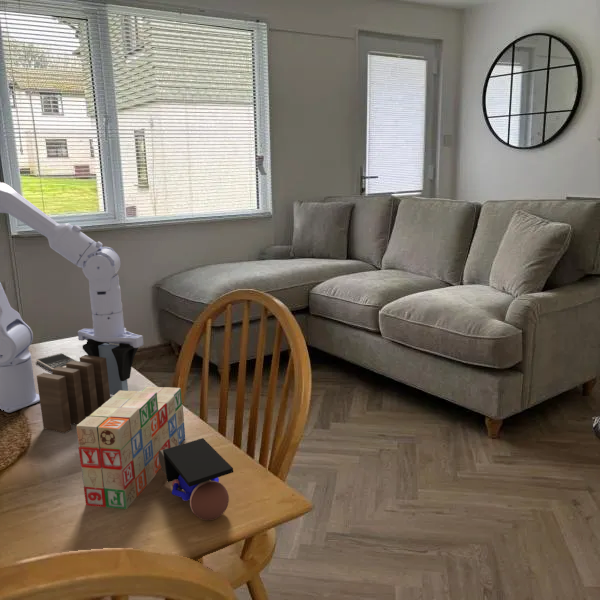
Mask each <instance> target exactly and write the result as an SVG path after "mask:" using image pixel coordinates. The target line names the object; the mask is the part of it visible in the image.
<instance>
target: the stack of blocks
mask: <svg viewBox="0 0 600 600" xmlns="http://www.w3.org/2000/svg"><path fill="white" fill-rule="evenodd" d="M182 399H183V398H182V388H181V387H169V386H168V387H167V386H164V387H163V386H161V387H160V386H146V387H145V388H144V389H143V390H141V391H140V390H139V391H138V390H137V391H135V390H128V391H122V390H120V391H119V392H117V393H116V394H115V395H112V396H110V399H109V400H108V401H107V402H105V403H104V404H103V405H102V406H101V407H99V408H98V409H97V410H96V411H94V412H93V413H92V414H91V415H90V416H88V417H87V416H85V419H84V420H83V421H82V422H80V423H79V424H78V425H76V432H77V441H78V455H79V462H80V467H81V474H82V481H83V493H84V501H85V505H86V506H91V507H100V508H101V507H103V508H114V509H120V510H121V509H122V510H123V509H124V510H127V509H128V508H129V507H130V506H131V504H132V503H134V501H136V499H137V498H138V497H139V496H140V494H141V493H142V492H143V490H144V489H145V488H146V487H147V486H148V485H149V484H150V483H151V481H152V480H153V479H154V478H155V477H156V475H157V473H158V472H159V470H160V469H162V468H161V465H160V461H159V451H160V450H163V449H166V448H171V447H175V446H178V445H181V444H183V442H184V441H185V439H186V431H185V430H186V429H185V417H184V405H183V400H182Z"/></svg>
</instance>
